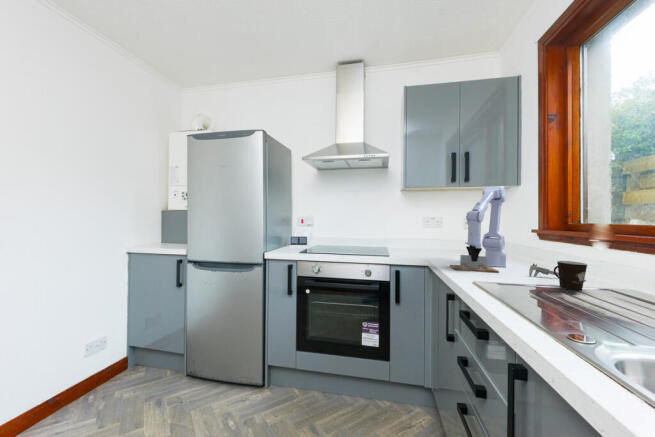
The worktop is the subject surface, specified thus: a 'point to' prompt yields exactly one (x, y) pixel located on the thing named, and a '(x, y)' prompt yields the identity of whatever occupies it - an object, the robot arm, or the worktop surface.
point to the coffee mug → (571, 274)
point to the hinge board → (466, 268)
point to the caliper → (541, 270)
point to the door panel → (471, 263)
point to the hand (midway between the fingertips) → (473, 260)
